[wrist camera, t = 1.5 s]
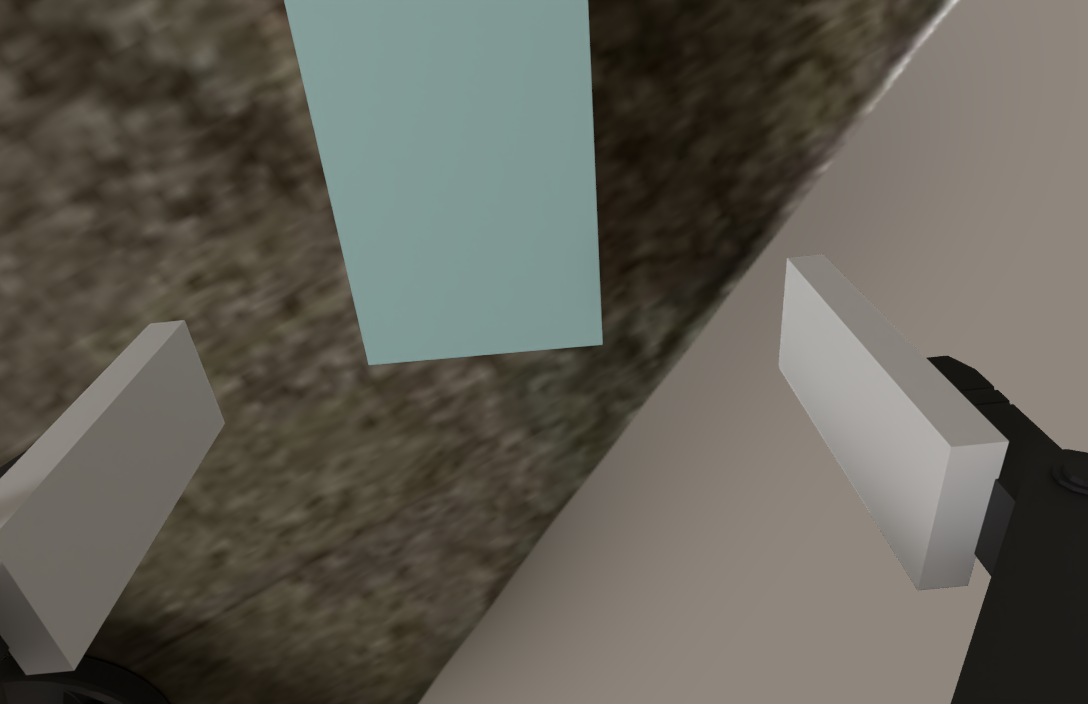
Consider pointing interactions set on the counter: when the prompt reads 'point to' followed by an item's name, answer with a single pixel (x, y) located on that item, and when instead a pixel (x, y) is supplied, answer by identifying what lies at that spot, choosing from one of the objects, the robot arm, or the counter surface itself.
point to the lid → (458, 170)
